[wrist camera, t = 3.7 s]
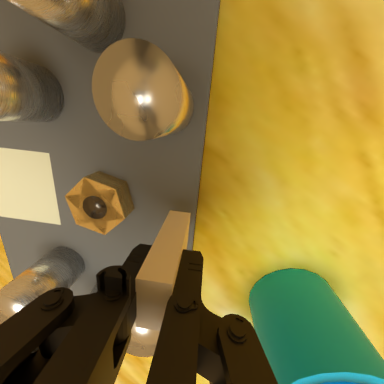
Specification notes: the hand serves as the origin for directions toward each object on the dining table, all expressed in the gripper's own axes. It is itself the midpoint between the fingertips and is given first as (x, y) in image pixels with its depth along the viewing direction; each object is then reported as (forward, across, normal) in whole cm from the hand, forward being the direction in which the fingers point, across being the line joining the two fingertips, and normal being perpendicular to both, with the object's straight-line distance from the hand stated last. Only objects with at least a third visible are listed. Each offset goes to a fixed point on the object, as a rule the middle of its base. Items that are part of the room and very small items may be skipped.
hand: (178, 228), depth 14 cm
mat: (+4, -9, +1) cm, 10 cm away
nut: (+3, -7, 0) cm, 8 cm away
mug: (+4, +12, -11) cm, 16 cm away
